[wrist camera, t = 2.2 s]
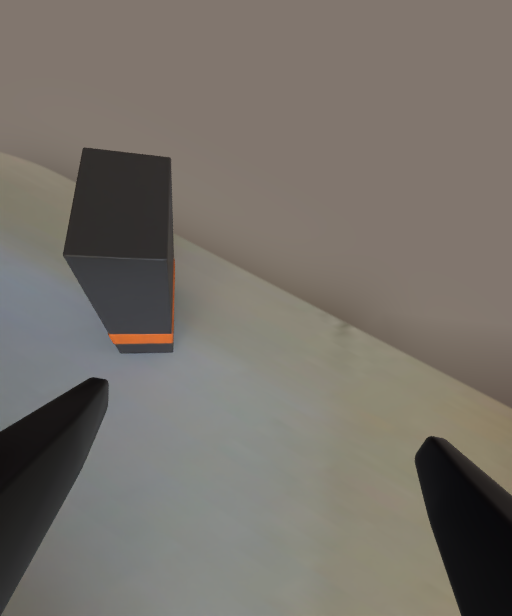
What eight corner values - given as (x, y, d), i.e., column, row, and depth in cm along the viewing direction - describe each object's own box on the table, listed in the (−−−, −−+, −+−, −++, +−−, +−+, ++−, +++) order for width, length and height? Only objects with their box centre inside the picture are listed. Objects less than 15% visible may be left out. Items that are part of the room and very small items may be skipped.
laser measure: (175, 286, 25) (172, 156, 14) (173, 353, 23) (168, 261, 12) (124, 284, 25) (79, 145, 13) (118, 354, 22) (57, 256, 11)
